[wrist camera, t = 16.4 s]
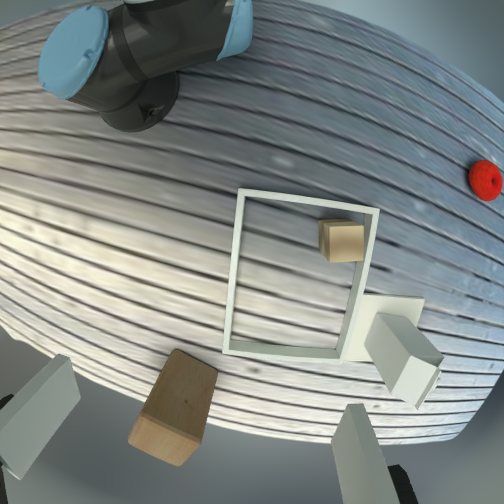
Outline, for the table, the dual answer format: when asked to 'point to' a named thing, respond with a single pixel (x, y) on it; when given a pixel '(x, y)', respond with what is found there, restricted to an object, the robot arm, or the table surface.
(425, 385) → the milk carton
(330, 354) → the rectangular frame
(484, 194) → the apple
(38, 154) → the table surface
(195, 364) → the wooden block
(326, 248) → the oak block
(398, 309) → the tile
